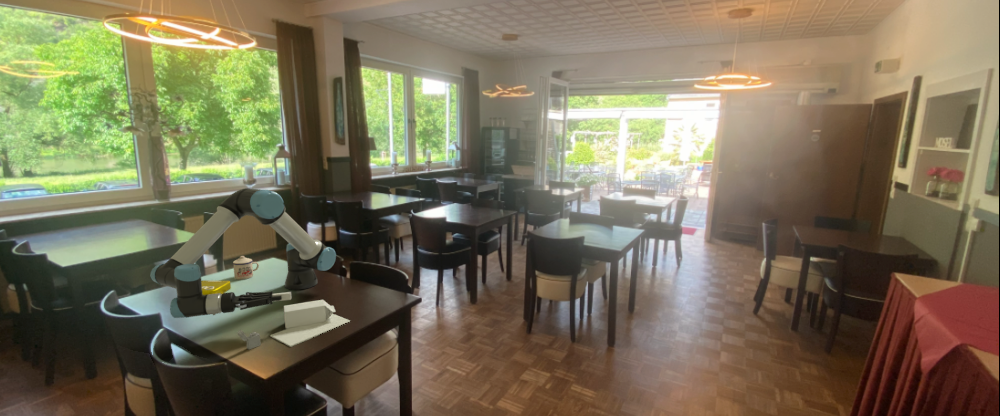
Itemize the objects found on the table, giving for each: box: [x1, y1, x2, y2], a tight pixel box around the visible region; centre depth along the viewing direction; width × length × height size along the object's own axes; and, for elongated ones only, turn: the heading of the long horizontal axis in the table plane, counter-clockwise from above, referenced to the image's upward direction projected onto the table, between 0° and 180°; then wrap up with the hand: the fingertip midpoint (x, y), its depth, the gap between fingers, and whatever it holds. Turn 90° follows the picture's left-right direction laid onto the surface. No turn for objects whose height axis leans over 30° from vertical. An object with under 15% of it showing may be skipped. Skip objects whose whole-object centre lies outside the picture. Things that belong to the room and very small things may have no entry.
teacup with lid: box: [232, 255, 260, 280], centre depth 225 cm, size 12×9×12 cm
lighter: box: [236, 329, 262, 350], centre depth 150 cm, size 7×2×8 cm, turn 149°
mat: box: [269, 313, 351, 348], centre depth 168 cm, size 26×21×1 cm
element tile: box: [201, 279, 232, 295], centre depth 201 cm, size 15×15×5 cm
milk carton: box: [283, 299, 336, 329], centre depth 172 cm, size 7×7×19 cm
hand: (290, 295), depth 166 cm, fingers closed
